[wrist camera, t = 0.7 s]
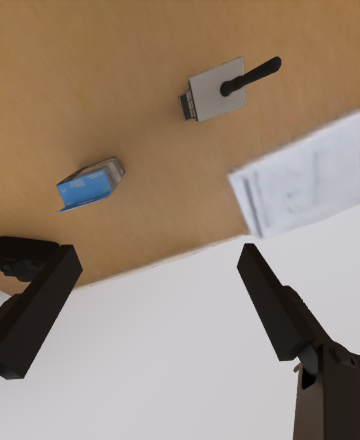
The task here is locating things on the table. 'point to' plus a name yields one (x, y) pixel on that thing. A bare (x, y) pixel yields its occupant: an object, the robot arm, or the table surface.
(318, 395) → the robot arm
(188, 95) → the vintage mobile phone
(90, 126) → the table surface
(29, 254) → the film camera
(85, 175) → the label tape box
